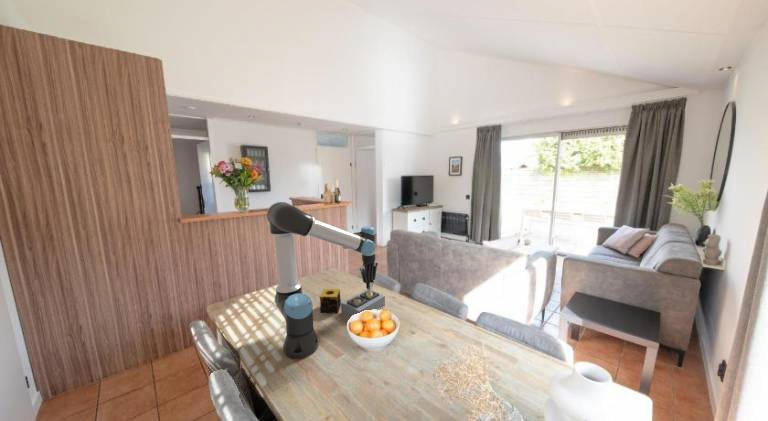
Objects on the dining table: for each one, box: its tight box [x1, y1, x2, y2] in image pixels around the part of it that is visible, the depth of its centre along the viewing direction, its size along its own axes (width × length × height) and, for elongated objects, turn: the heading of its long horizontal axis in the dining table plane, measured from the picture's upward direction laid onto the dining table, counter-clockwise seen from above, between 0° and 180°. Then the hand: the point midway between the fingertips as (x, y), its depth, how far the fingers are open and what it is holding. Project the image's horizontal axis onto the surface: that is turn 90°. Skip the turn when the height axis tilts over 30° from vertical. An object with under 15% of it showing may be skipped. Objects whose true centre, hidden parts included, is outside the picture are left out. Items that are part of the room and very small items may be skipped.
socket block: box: [340, 289, 386, 318], centre depth 155 cm, size 21×14×7 cm, turn 140°
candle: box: [319, 288, 342, 314], centre depth 156 cm, size 10×10×10 cm
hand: (369, 292), depth 159 cm, fingers closed
